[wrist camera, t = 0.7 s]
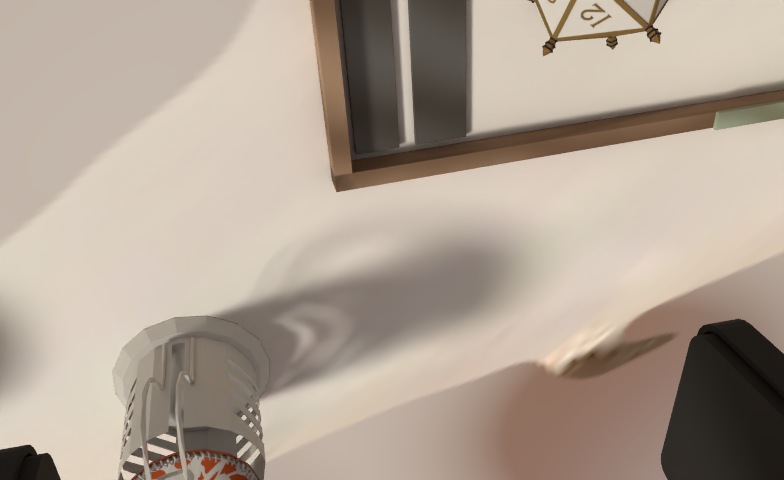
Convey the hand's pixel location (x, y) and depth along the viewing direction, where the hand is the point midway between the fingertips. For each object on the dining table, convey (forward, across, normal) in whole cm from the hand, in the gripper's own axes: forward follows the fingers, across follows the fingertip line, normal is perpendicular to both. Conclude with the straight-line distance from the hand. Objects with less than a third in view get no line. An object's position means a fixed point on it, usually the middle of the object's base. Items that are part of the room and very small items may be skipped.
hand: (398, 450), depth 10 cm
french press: (+29, +7, +21) cm, 36 cm away
